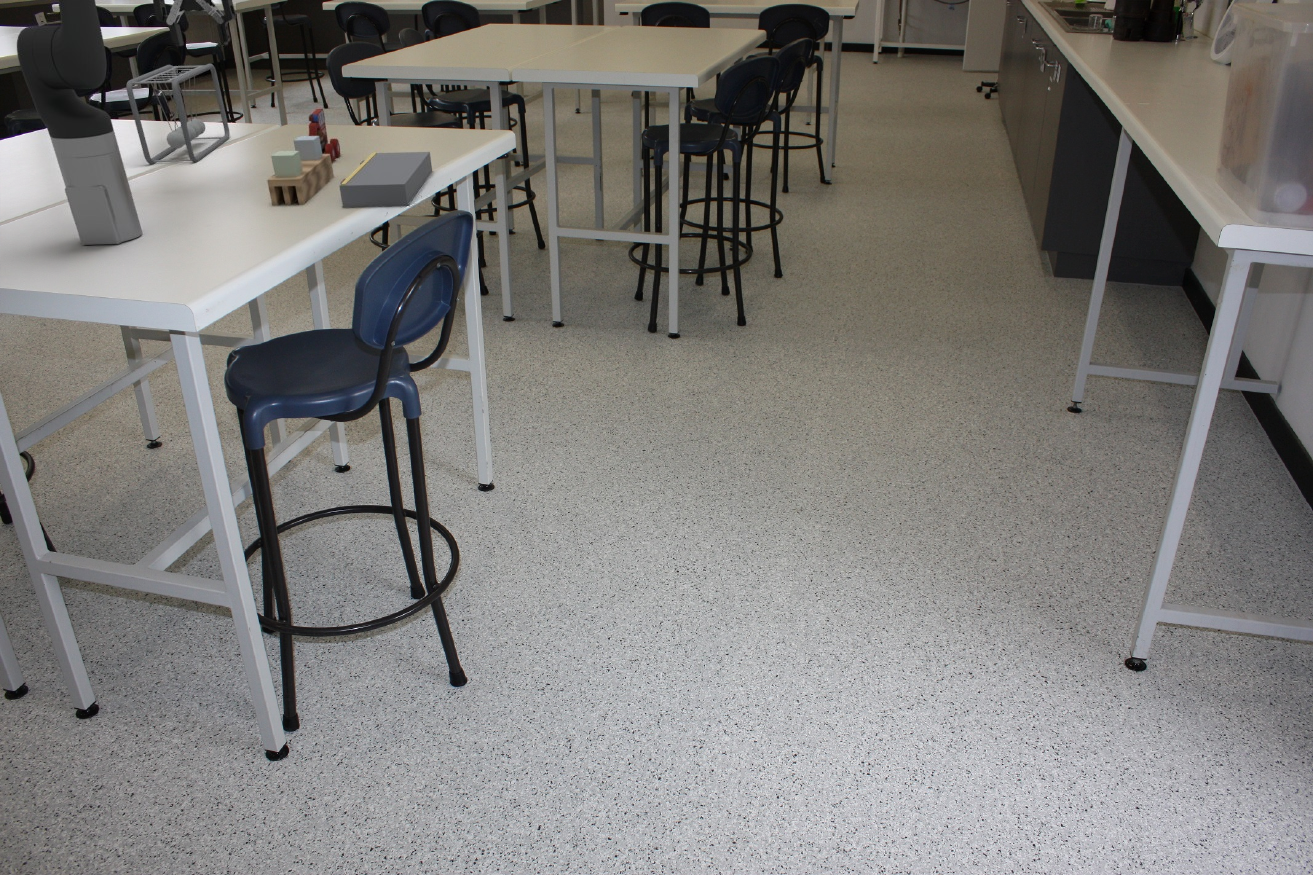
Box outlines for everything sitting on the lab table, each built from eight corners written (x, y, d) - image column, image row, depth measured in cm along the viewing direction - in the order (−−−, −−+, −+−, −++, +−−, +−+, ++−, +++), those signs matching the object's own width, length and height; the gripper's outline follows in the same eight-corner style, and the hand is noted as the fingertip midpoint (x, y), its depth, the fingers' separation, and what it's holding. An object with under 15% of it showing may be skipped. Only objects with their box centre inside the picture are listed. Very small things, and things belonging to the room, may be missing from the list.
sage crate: (296, 177, 178) (292, 155, 176) (275, 177, 178) (271, 156, 176) (303, 172, 182) (298, 150, 180) (282, 172, 182) (277, 151, 180)
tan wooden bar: (304, 205, 179) (299, 179, 177) (272, 206, 179) (267, 180, 177) (334, 178, 198) (329, 154, 196) (305, 179, 198) (300, 154, 196)
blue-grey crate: (317, 160, 191) (313, 140, 189) (297, 160, 191) (293, 140, 189) (322, 156, 194) (319, 136, 192) (303, 156, 194) (299, 136, 192)
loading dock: (407, 205, 177) (404, 183, 175) (337, 207, 177) (333, 184, 175) (432, 171, 202) (429, 151, 199) (370, 172, 201) (367, 152, 199)
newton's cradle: (195, 164, 211) (174, 80, 202) (146, 166, 210) (123, 82, 201) (231, 138, 237) (214, 62, 228) (188, 139, 236) (169, 63, 227)
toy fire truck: (299, 167, 207) (290, 117, 202) (312, 154, 218) (303, 107, 213) (332, 165, 208) (323, 116, 203) (343, 153, 219) (335, 106, 214)
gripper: (134, -47, 173) (157, 48, 181) (214, -48, 174) (233, 46, 182) (151, -48, 180) (172, 44, 188) (227, -49, 181) (245, 43, 188)
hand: (202, 45), depth 185 cm, fingers open, 8 cm apart
